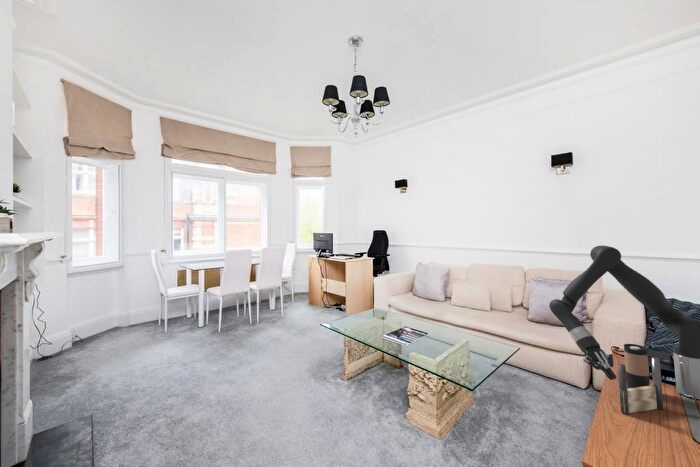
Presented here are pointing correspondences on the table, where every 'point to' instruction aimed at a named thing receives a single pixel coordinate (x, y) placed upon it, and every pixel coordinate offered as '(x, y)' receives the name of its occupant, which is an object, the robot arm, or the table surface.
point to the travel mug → (636, 365)
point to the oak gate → (635, 395)
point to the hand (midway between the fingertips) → (613, 379)
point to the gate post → (657, 381)
